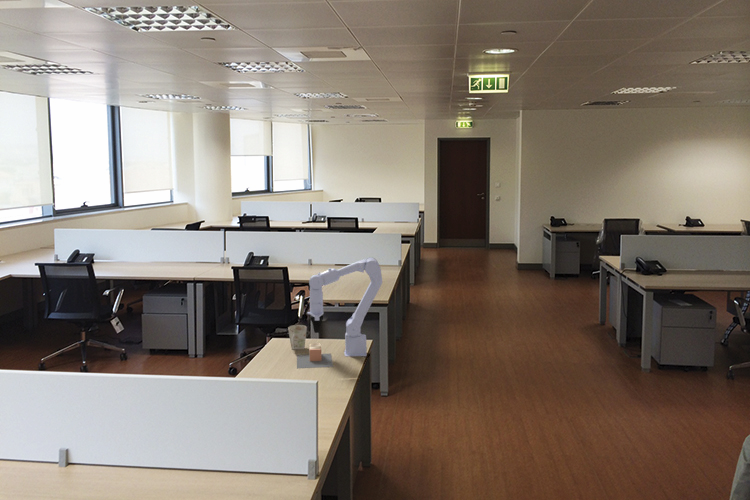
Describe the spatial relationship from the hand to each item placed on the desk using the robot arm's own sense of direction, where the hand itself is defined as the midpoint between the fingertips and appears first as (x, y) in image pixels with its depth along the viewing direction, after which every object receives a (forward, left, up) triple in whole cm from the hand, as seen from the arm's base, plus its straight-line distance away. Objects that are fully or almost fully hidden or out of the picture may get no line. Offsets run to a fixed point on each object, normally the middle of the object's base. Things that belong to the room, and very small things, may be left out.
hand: (316, 332), depth 283 cm
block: (+1, +10, -7) cm, 12 cm away
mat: (+2, +9, -10) cm, 14 cm away
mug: (+9, -9, -11) cm, 17 cm away
